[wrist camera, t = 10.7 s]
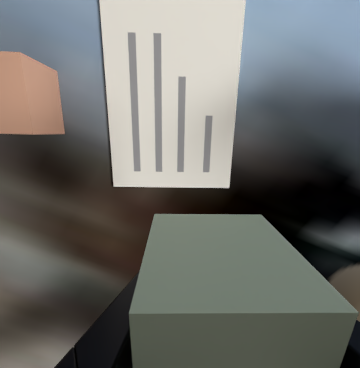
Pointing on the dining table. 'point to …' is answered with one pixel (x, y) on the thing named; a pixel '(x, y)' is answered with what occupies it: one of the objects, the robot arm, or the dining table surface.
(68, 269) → the dining table surface
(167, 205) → the dining table surface
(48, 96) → the terracotta block
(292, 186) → the dining table surface
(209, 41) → the letter
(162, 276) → the green cube
